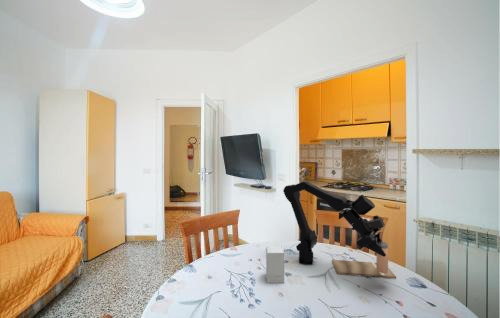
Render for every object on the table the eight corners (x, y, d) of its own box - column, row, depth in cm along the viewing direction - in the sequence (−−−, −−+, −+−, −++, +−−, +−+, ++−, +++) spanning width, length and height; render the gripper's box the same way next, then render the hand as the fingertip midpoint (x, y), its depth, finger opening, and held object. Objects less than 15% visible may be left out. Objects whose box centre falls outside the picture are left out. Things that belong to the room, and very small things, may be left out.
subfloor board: (336, 274, 98) (336, 271, 98) (331, 261, 110) (331, 259, 110) (396, 278, 94) (396, 276, 94) (384, 265, 105) (384, 263, 105)
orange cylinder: (378, 272, 87) (378, 245, 86) (374, 267, 90) (374, 241, 90) (389, 273, 86) (389, 245, 86) (385, 268, 90) (385, 241, 90)
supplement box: (284, 283, 91) (284, 252, 91) (267, 283, 91) (266, 253, 91) (282, 273, 99) (282, 245, 99) (266, 273, 99) (265, 245, 99)
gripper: (365, 214, 83) (400, 251, 76) (375, 206, 98) (406, 236, 91) (344, 231, 89) (375, 266, 82) (356, 220, 103) (384, 250, 96)
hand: (386, 254), depth 87 cm, fingers closed on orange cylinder, 4 cm apart
